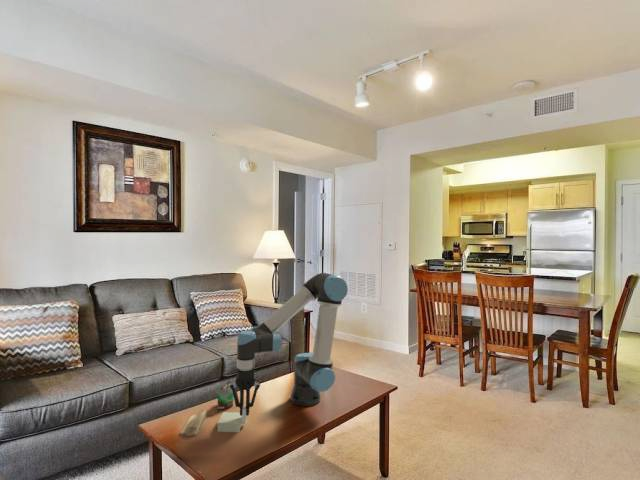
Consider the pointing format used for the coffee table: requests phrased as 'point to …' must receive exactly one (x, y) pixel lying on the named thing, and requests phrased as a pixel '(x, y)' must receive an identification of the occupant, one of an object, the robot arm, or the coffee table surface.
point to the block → (230, 422)
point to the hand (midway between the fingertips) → (244, 422)
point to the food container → (225, 397)
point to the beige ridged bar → (194, 423)
